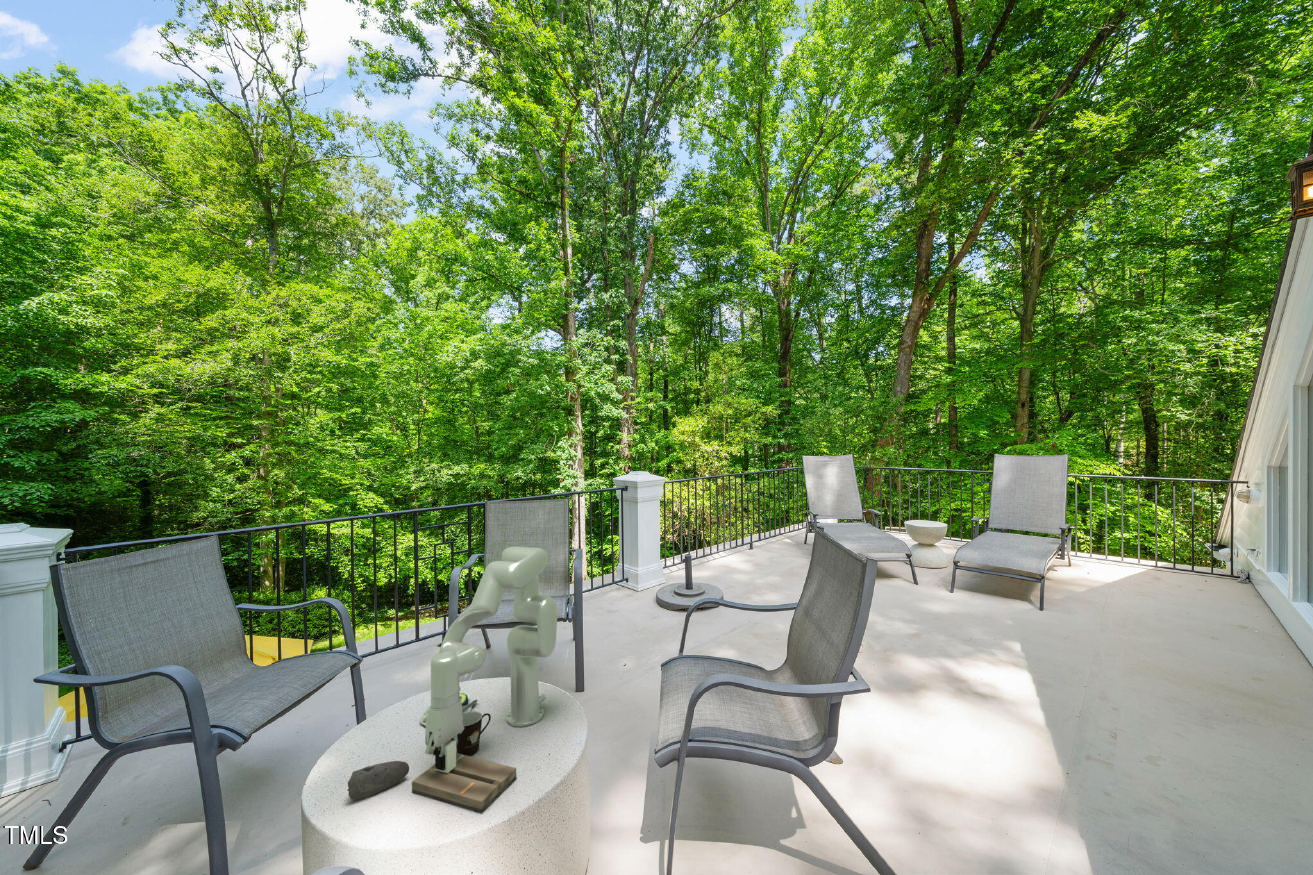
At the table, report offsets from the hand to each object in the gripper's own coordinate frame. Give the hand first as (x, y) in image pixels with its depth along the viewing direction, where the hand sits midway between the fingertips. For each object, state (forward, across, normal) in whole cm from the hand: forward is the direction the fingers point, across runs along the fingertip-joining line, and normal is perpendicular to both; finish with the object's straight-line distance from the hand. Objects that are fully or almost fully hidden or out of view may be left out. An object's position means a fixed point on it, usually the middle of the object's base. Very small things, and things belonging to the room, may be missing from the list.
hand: (445, 764), depth 134 cm
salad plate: (+5, -29, -28) cm, 40 cm away
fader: (+3, 0, 0) cm, 3 cm away
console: (+4, 0, +7) cm, 8 cm away
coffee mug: (+5, -14, -3) cm, 15 cm away
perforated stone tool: (+5, +9, -15) cm, 18 cm away
